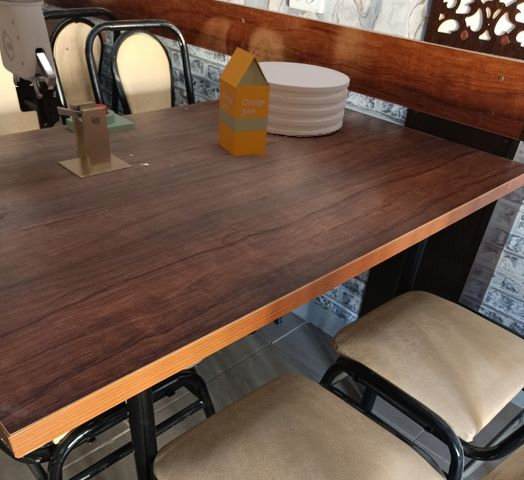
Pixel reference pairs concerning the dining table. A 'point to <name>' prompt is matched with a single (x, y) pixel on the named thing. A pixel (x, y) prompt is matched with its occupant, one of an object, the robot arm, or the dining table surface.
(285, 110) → the plate stack
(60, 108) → the lever
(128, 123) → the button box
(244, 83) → the orange juice
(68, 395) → the dining table surface
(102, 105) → the stop button
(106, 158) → the bracket
